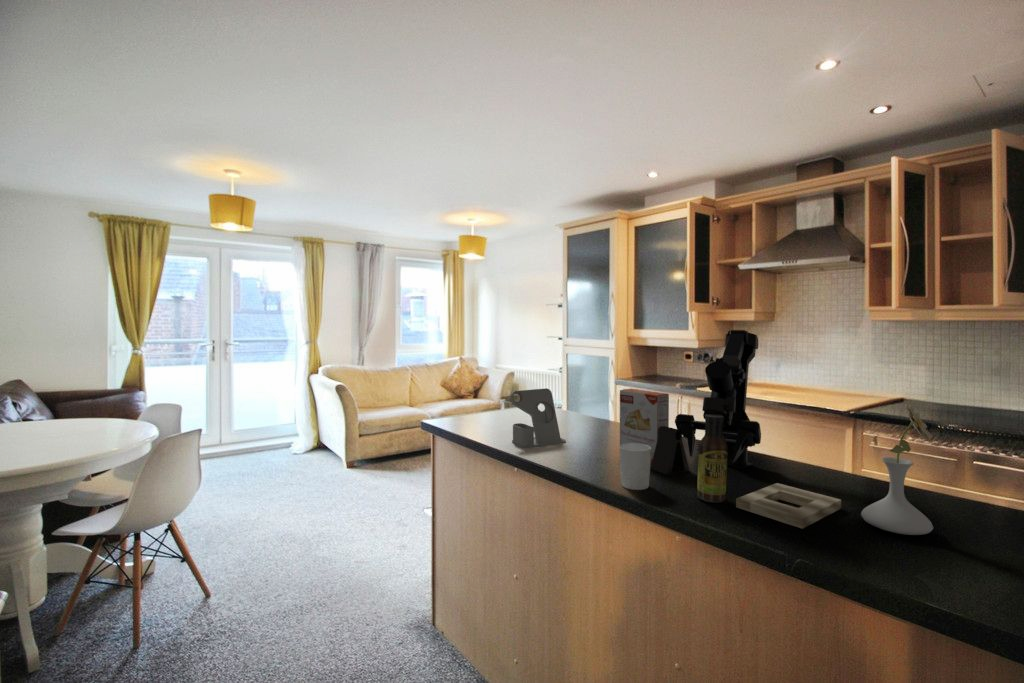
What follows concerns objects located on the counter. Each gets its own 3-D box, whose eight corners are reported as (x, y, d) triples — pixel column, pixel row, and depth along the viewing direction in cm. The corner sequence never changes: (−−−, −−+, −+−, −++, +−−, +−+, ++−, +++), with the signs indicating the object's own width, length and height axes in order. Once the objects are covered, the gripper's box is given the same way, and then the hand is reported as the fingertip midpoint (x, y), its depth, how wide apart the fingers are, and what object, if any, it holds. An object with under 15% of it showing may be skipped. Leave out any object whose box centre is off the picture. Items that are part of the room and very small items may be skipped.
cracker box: (618, 456, 151) (618, 389, 150) (631, 453, 155) (631, 387, 154) (656, 467, 140) (656, 394, 139) (669, 463, 144) (669, 392, 143)
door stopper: (666, 475, 133) (667, 431, 132) (650, 470, 138) (650, 427, 137) (689, 470, 137) (689, 428, 137) (672, 465, 142) (672, 424, 142)
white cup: (645, 493, 119) (645, 452, 119) (614, 487, 123) (614, 448, 123) (654, 484, 126) (655, 445, 125) (625, 479, 130) (625, 441, 130)
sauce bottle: (703, 504, 112) (704, 417, 111) (692, 495, 118) (693, 412, 117) (731, 504, 112) (732, 417, 111) (719, 494, 118) (720, 412, 117)
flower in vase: (911, 545, 91) (915, 411, 90) (848, 522, 101) (850, 402, 100) (950, 533, 96) (954, 406, 95) (886, 512, 106) (889, 398, 105)
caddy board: (776, 491, 120) (776, 482, 120) (840, 508, 109) (841, 499, 109) (736, 507, 110) (736, 498, 110) (802, 528, 98) (802, 518, 98)
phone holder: (523, 448, 162) (523, 394, 161) (509, 442, 171) (509, 390, 170) (567, 442, 170) (567, 390, 169) (551, 436, 179) (551, 387, 178)
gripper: (677, 381, 122) (663, 433, 114) (760, 386, 112) (752, 444, 103) (685, 408, 129) (672, 459, 121) (764, 415, 119) (757, 472, 110)
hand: (711, 458), depth 113 cm, fingers open, 9 cm apart
